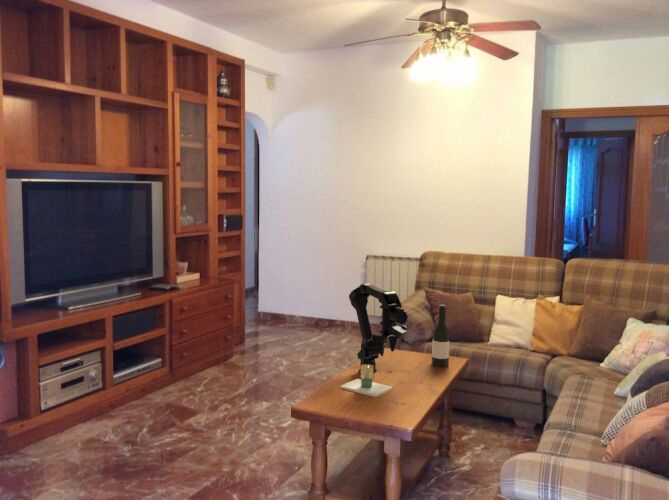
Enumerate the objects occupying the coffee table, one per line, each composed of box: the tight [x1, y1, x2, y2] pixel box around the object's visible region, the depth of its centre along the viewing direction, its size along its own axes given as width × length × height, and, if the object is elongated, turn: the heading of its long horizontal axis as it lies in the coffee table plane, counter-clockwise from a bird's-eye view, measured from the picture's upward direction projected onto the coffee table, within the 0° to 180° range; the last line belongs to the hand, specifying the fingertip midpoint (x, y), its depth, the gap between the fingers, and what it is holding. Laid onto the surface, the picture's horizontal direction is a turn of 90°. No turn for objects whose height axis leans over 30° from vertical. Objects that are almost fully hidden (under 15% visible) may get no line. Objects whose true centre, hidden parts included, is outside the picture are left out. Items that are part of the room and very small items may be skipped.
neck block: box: [340, 377, 393, 398], centre depth 267 cm, size 18×13×5 cm
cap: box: [360, 364, 374, 380], centre depth 266 cm, size 5×6×5 cm
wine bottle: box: [431, 304, 451, 368], centre depth 303 cm, size 8×8×30 cm
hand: (387, 353), depth 277 cm, fingers open, 9 cm apart
